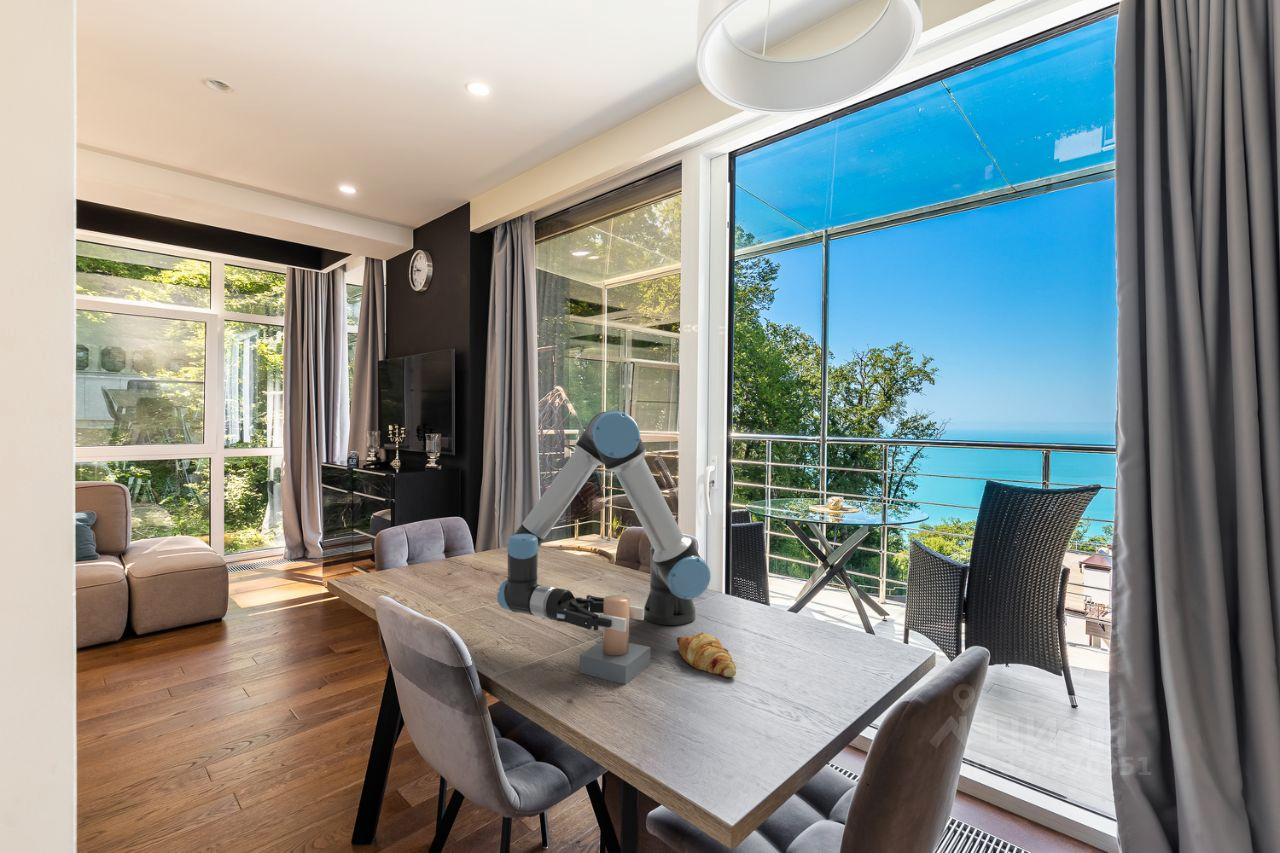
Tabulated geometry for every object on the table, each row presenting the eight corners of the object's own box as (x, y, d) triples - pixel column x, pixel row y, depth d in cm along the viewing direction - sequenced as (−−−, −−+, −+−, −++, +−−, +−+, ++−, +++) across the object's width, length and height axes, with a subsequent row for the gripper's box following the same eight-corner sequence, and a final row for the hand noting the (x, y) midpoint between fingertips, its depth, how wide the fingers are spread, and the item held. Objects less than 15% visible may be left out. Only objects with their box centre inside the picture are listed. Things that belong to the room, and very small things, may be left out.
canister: (611, 644, 138) (612, 593, 138) (633, 648, 135) (634, 597, 136) (597, 652, 133) (598, 599, 133) (620, 657, 130) (621, 603, 130)
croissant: (743, 693, 130) (756, 658, 132) (714, 682, 125) (728, 646, 127) (686, 657, 148) (698, 627, 150) (658, 646, 143) (671, 616, 145)
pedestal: (607, 653, 142) (607, 637, 142) (650, 664, 137) (650, 647, 136) (579, 672, 132) (579, 655, 132) (625, 684, 126) (625, 666, 126)
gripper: (576, 606, 151) (654, 622, 141) (526, 632, 133) (611, 651, 123) (577, 578, 151) (655, 591, 141) (526, 599, 133) (611, 616, 122)
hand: (634, 619), depth 132 cm, fingers open, 8 cm apart
